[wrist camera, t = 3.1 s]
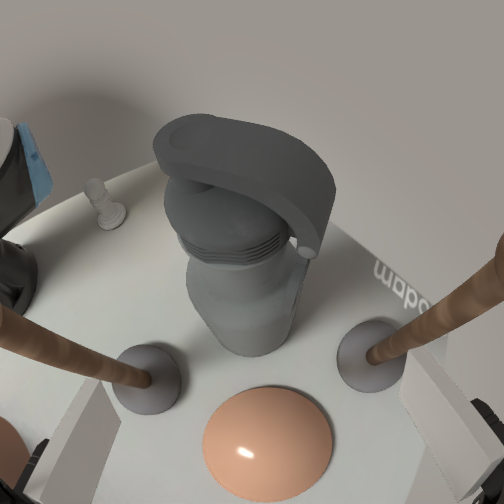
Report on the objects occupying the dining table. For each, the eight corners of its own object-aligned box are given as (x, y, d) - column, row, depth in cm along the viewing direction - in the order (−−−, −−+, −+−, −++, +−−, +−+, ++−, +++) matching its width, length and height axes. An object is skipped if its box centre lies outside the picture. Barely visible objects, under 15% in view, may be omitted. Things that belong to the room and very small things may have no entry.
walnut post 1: (110, 356, 35) (-69, 253, 10) (169, 338, 36) (13, 194, 11) (127, 421, 31) (-79, 394, 6) (190, 405, 32) (4, 377, 7)
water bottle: (304, 299, 38) (357, 110, 14) (278, 370, 34) (309, 277, 9) (231, 274, 40) (184, 80, 16) (201, 340, 36) (78, 200, 12)
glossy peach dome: (186, 409, 32) (185, 409, 31) (303, 368, 34) (304, 368, 33) (230, 514, 25) (229, 515, 24) (348, 472, 27) (349, 473, 26)
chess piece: (112, 200, 48) (91, 166, 40) (132, 210, 46) (111, 174, 39) (93, 224, 46) (68, 191, 38) (113, 235, 44) (87, 202, 36)
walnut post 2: (325, 341, 35) (443, 184, 10) (384, 312, 36) (524, 155, 11) (353, 405, 31) (545, 378, 6) (412, 371, 32) (599, 282, 7)
